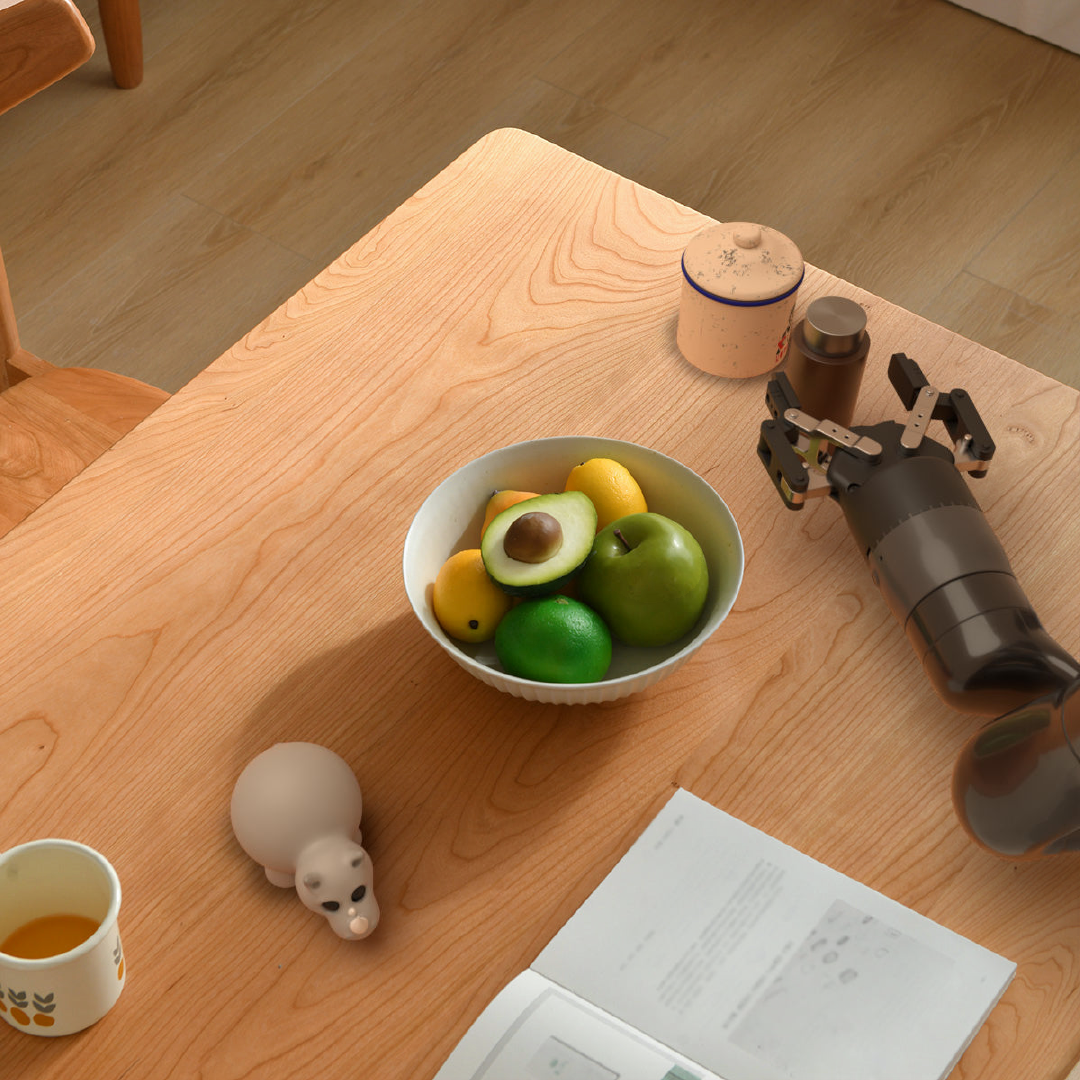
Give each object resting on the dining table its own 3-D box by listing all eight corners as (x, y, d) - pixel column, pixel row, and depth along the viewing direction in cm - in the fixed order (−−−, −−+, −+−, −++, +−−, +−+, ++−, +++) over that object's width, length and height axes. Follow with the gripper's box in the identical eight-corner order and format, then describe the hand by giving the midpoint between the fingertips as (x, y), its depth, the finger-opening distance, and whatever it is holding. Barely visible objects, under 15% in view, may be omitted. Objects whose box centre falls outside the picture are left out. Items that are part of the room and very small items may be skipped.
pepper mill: (827, 421, 102) (858, 284, 92) (853, 470, 98) (888, 334, 88) (761, 432, 101) (786, 296, 91) (785, 482, 98) (813, 347, 88)
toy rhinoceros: (306, 1000, 73) (283, 935, 67) (227, 825, 80) (200, 750, 73) (426, 939, 76) (415, 869, 69) (339, 773, 82) (322, 696, 76)
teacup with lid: (800, 386, 104) (825, 264, 95) (684, 395, 103) (698, 274, 94) (766, 285, 112) (785, 165, 103) (657, 294, 111) (667, 173, 102)
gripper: (1057, 489, 80) (945, 313, 90) (829, 531, 78) (741, 345, 88) (1022, 569, 86) (920, 394, 96) (810, 609, 84) (728, 427, 94)
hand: (834, 371), depth 92 cm, fingers open, 8 cm apart
